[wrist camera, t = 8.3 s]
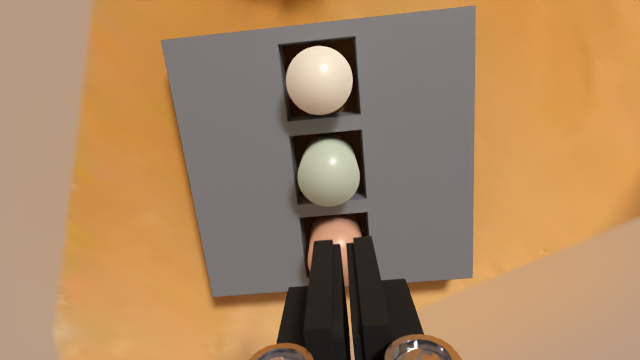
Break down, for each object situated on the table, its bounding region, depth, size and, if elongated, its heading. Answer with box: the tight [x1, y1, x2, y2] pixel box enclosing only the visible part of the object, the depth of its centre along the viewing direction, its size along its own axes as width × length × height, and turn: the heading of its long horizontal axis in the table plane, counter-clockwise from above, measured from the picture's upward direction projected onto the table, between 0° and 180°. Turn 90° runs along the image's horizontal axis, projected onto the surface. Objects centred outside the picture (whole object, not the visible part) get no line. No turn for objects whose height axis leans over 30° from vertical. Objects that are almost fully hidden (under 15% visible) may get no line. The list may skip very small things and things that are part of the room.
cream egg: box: [286, 46, 353, 115], centre depth 25 cm, size 4×4×5 cm
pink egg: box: [308, 213, 362, 286], centre depth 29 cm, size 4×4×5 cm
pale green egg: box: [298, 134, 360, 207], centre depth 27 cm, size 4×4×5 cm
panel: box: [161, 6, 476, 297], centre depth 28 cm, size 20×19×3 cm
